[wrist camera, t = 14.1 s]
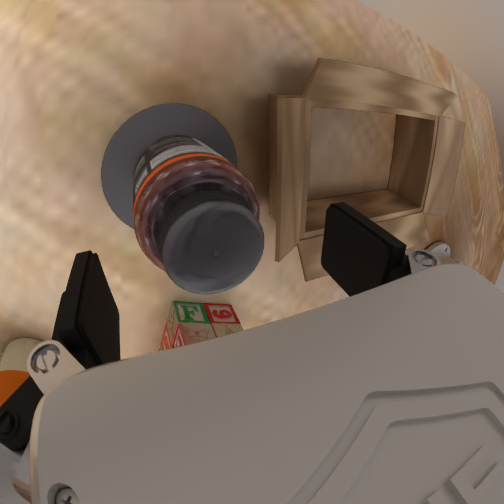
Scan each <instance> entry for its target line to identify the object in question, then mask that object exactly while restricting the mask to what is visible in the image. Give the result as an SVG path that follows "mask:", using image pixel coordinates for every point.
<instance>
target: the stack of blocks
mask: <svg viewBox="0 0 504 504" xmlns="http://www.w3.org/2000/svg"><path fill="white" fill-rule="evenodd" d="M239 331H243V328H242V326H241V324H240V321H239V319H238V318H237V316H236V314H235V312H234V310H233V308H232V306H231V305H229V304H211V303H191V302H178V301H173V302H172V306H171V310H170V313H169V317H168V321H167V324H166V326H165V330H164V334H163V339H162V343H161V347H160V351H163V350H167V349H172V348H176V347H180V346H185V345H189V344H193V343H197V342H201V341H205V340H209V339H213V338H217V337H220V336H224V335H228V334H232V333H235V332H239Z"/></svg>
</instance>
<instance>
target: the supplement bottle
mask: <svg viewBox="0 0 504 504" xmlns="http://www.w3.org/2000/svg"><path fill="white" fill-rule="evenodd" d="M259 215H260V207H259V201H258V196H257V194H256V191H255V189H254V187H253V185H252V184H251V182H250V181H249V180H248V178H247V177H246V176H245V175H244V173H243V172H241V171H240V170H239V169H238V168H237V167H235V166H234V165H233V164H232V163H231V162H230V161H228V160H227V159H225V158H224V157H222V156H221V155H220V154H218V153H217V152H216V151H214V150H212V149H211V148H210V147H208V146H207V145H205V144H204V143H202V142H201V141H199V140H197V139H195V138H192V137H190V136H186V135H170V136H165V137H163V138H160V139H158V140H156V141H154V142H153V143H152V144H150V145H149V146H148V147H147V148H146V149H145V150H144V151H143V152H142V154H141V155H140V157H139V159H138V161H137V163H136V166H135V170H134V174H133V221H134V229H135V234H136V237H137V240H138V243H139V245H140V247H141V249H142V251H143V252H144V254H145V255H146V256H147V257H148V259H149V260H150V261H151V262H152V263H154V264H155V265H156V266H157V267H159V268H160V269H162V270H164V271H166V273H167V275H168V276H169V277H170V278H171V280H172V281H173V282H174V283H175V284H176V285H178V286H179V287H181V288H182V289H184V290H187V291H189V292H192V293H197V294H215V293H220V292H223V291H227V290H229V289H231V288H233V287H235V286H237V285H238V284H240V283H242V282H243V281H244V280H245V279H246V278H247V277H248V276H249V275H250V274H251V273H252V272H253V271H254V270H255V268H256V266H257V265H258V263H259V261H260V259H261V256H262V254H263V249H264V233H263V229H262V226H261V224H260V222H259Z"/></svg>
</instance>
